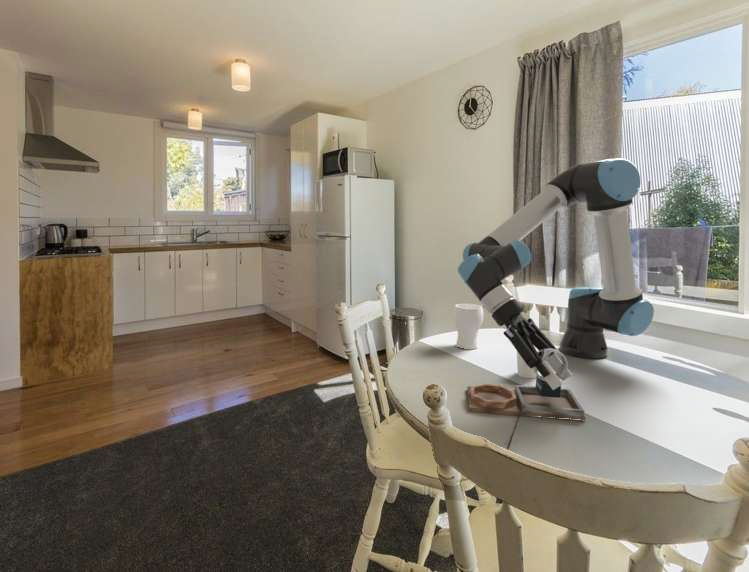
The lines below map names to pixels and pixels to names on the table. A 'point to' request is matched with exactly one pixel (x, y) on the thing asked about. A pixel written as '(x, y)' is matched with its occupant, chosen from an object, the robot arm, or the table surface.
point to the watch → (541, 382)
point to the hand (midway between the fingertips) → (563, 382)
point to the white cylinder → (524, 368)
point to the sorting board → (523, 402)
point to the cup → (467, 324)
